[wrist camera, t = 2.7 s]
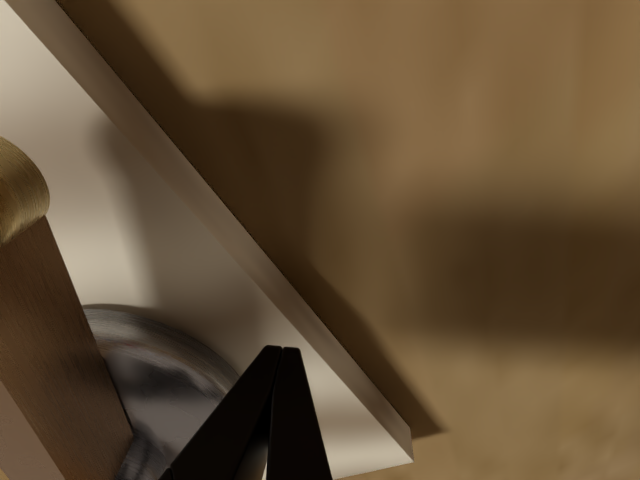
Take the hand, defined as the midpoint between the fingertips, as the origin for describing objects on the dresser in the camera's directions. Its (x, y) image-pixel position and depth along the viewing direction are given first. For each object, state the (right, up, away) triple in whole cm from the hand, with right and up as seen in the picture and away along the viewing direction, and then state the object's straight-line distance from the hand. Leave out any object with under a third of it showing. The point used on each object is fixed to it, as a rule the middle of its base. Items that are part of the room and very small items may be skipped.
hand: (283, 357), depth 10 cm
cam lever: (-6, 0, +4) cm, 7 cm away
